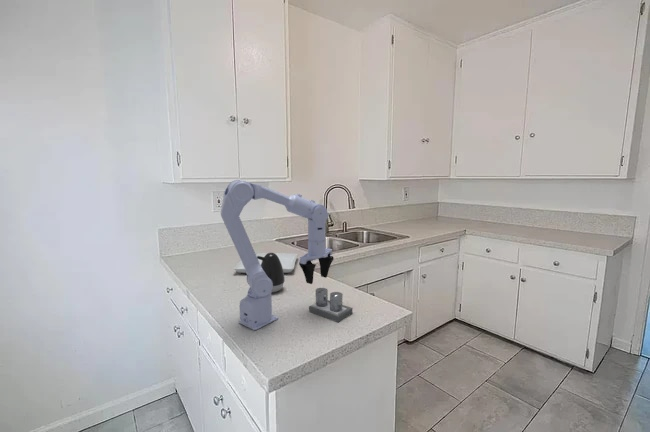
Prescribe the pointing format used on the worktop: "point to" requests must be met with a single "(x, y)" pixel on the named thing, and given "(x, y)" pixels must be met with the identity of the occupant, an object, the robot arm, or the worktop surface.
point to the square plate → (285, 259)
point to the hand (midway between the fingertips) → (316, 279)
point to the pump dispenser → (273, 270)
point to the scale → (331, 312)
